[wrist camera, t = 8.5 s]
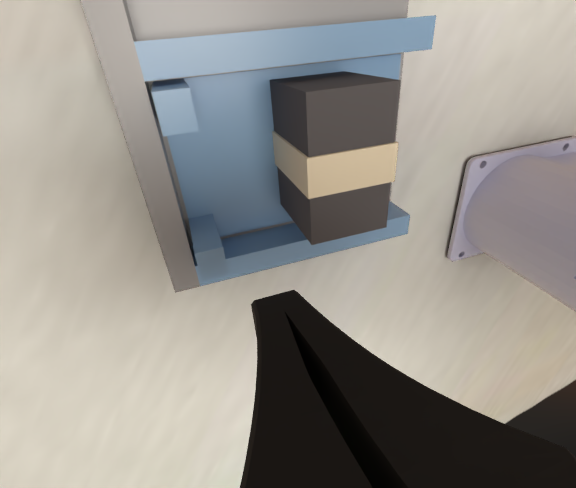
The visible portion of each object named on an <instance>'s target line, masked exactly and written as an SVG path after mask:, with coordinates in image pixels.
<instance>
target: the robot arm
mask: <svg viewBox="0 0 576 488" xmlns="http://www.w3.org/2000/svg"><path fill="white" fill-rule="evenodd" d="M481 162H482V163H481ZM480 163H481V164H480ZM481 253H486V254H487V255H489V256H490V257H492V258H494V259H495V260H497V261H498V262H500V263H501V264H503V265H504V266H506V267H507V268H509V269H511V270H512V271H514V272H515V273H517V274H518V275H520V276H521V277H523V278H525V279H526V280H528V281H529V282H531V283H532V284H534V285H535V286H537V287H538V288H540V289H542V290H543V291H545V292H546V293H548V294H549V295H551V296H552V297H554V298H555V299H557V300H559V301H560V302H562V303H563V304H565V305H566V306H568V307H569V308H571V309H572V310H574V311H576V136H573V137H569V138H564V139H559V140H554V141H549V142H544V143H539V144H534V145H529V146H525V147H520V148H515V149H510V150H505V151H500V152H495V153H490V154H485V155H481V156H476V157H473V158H471V159H470V160H469V161H468V162H467V165H466V169H465V174H464V179H463V183H462V188H461V193H460V197H459V202H458V207H457V212H456V216H455V221H454V226H453V231H452V235H451V240H450V245H449V250H448V254H447V258H448V259H449V260H451V261H457V260H460V259H464V258H467V257H471V256H474V255H478V254H481ZM251 306H252V312H253V318H254V324H255V330H256V336H257V356H258V358H257V377H256V392H255V402H254V410H253V418H252V425H251V432H250V437H249V443H248V449H247V455H246V461H245V466H244V471H243V476H242V481H241V485H240V488H576V457H575V456H574V455H573V454H572V453H571V452H570V451H568V450H567V449H566V448H565V447H562V446H560V445H557V444H554V443H552V442H549V441H547V440H544V439H542V438H539V437H536V436H533V435H531V434H529V433H526V432H524V431H521V430H518V429H516V428H513V427H511V426H508V425H505V424H503V423H501V422H499V421H496V420H494V419H492V418H490V417H487V416H485V415H483V414H481V413H478V412H476V411H474V410H472V409H469V408H468V407H466V406H464V405H462V404H460V403H458V402H456V401H454V400H452V399H450V398H448V397H446V396H444V395H442V394H440V393H438V392H436V391H434V390H432V389H430V388H428V387H426V386H424V385H423V384H421V383H419V382H417V381H416V380H414V379H412V378H410V377H408V376H407V375H405V374H403V373H402V372H400V371H399V370H397V369H395V368H394V367H392V366H390V365H389V364H387V363H386V362H384V361H383V360H381V359H380V358H378V357H377V356H375V355H374V354H372V353H371V352H369V351H368V350H367V349H365V348H364V347H362V346H361V345H360V344H358V343H357V342H355V341H354V340H353V339H351V338H350V337H349V336H347V335H346V334H345V333H344V332H342V331H341V330H340V329H339V328H337V327H336V326H335V325H334V324H332V323H331V322H330V321H329V320H328V319H326V318H325V317H324V316H323V315H322V314H321V313H320V312H318V311H317V310H316V309H315V308H314V307H313V306H312V305H311V304H309V303H308V302H307V301H306V300H305V299H304V298H303V297H302V296H301V295H300V294H299V293H298V292H296V291H295V290H291V291H288V292H284V293H280V294H276V295H273V296H269V297H265V298H262V299H258V300H254V302H253V303H252V304H251Z"/></svg>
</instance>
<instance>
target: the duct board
mask: <svg viewBox="0 0 576 488" xmlns="http://www.w3.org/2000/svg"><path fill="white" fill-rule="evenodd" d="M408 1H409V0H80V2H81V5H82V8H83V11H84V14H85V17H86V20H87V23H88V26H89V29H90V32H91V35H92V38H93V42H94V45H95V48H96V51H97V54H98V57H99V60H100V63H101V66H102V69H103V72H104V75H105V78H106V81H107V84H108V87H109V91H110V94H111V97H112V100H113V103H114V106H115V109H116V112H117V115H118V118H119V121H120V124H121V127H122V130H123V133H124V137H125V140H126V143H127V146H128V149H129V152H130V155H131V158H132V161H133V164H134V167H135V170H136V173H137V176H138V179H139V182H140V186H141V189H142V192H143V195H144V198H145V201H146V204H147V207H148V210H149V213H150V216H151V219H152V222H153V225H154V228H155V232H156V235H157V238H158V241H159V244H160V247H161V250H162V253H163V256H164V259H165V262H166V265H167V268H168V271H169V274H170V277H171V281H172V284H173V287H174V290H175V292H179V291H183V290H187V289H191V288H195V287H199V286H203V285H207V284H211V283H215V282H219V281H223V280H227V279H231V278H234V277H238V276H242V275H246V274H250V273H254V272H258V271H262V270H266V269H270V268H274V267H278V266H282V265H286V264H290V263H294V262H298V261H302V260H306V259H310V258H313V257H317V256H321V255H325V254H329V253H333V252H337V251H341V250H345V249H349V248H353V247H357V246H361V245H365V244H369V243H373V242H377V241H381V240H385V239H388V238H392V237H396V236H400V235H404V234H408V226H409V219H410V215H409V214H408V213H406V212H405V211H403V210H402V209H400V208H399V207H398V206H396V205H395V204H393V203H392V202H390V196H389V207H388V217H387V227H386V228H382V229H377V230H373V231H369V232H365V233H361V234H357V235H352V236H348V237H344V238H340V239H336V240H332V241H327V242H323V243H319V244H315V245H311V244H310V242H309V241H308V240H307V238H306V237H305V236H304V234H303V233H302V232H301V230H300V229H299V228H298V226H297V225H296V224H295V222H294V221H293V220H292V218H291V217H290V216H289V214H288V213H287V212H286V210H285V209H284V208H283V206H282V205H281V203H280V192H279V180H278V169H277V166H276V165H275V158H274V147H273V136H272V131H274V124H273V113H272V102H271V91H270V80H272V79H281V78H289V77H298V76H307V75H315V74H324V73H333V72H341V71H346V72H352V73H359V74H365V75H371V76H378V77H384V78H390V79H397V80H401V76H402V65H403V55H404V52H410V51H419V50H428V49H432V43H433V35H434V27H435V20H436V15H435V16H424V17H412V18H407V12H408ZM400 87H401V83H400ZM399 98H400V93H399ZM398 108H399V103H398ZM397 119H398V114H397ZM396 130H397V124H396ZM395 141H396V134H395ZM391 184H392V182H391ZM390 194H391V186H390Z"/></svg>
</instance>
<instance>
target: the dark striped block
mask: <svg viewBox="0 0 576 488" xmlns="http://www.w3.org/2000/svg"><path fill="white" fill-rule="evenodd" d="M400 83H401V80H397V79H390V78H384V77H378V76H371V75H365V74H359V73H352V72H346V71H341V72H333V73H324V74H315V75H307V76H298V77H289V78H281V79H272V80H270V91H271V102H272V113H273V124H274V131H272V136H273V147H274V158H275V165H276V166H277V169H278V180H279V192H280V203H281V205H282V206H283V208H284V209H285V210H286V212H287V213H288V214H289V216H290V217H291V218H292V220H293V221H294V222H295V224H296V225H297V226H298V228H299V229H300V230H301V232H302V233H303V234H304V236H305V237H306V238H307V240H308V241H309V242H310V244H311V245H315V244H319V243H323V242H327V241H332V240H336V239H340V238H344V237H348V236H352V235H357V234H361V233H365V232H369V231H373V230H377V229H382V228H386V227H387V217H388V207H389V196H390V186H391V182H394V181H395V171H396V162H397V152H398V142H396V141H395V134H396V124H397V114H398V103H399V93H400Z"/></svg>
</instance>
